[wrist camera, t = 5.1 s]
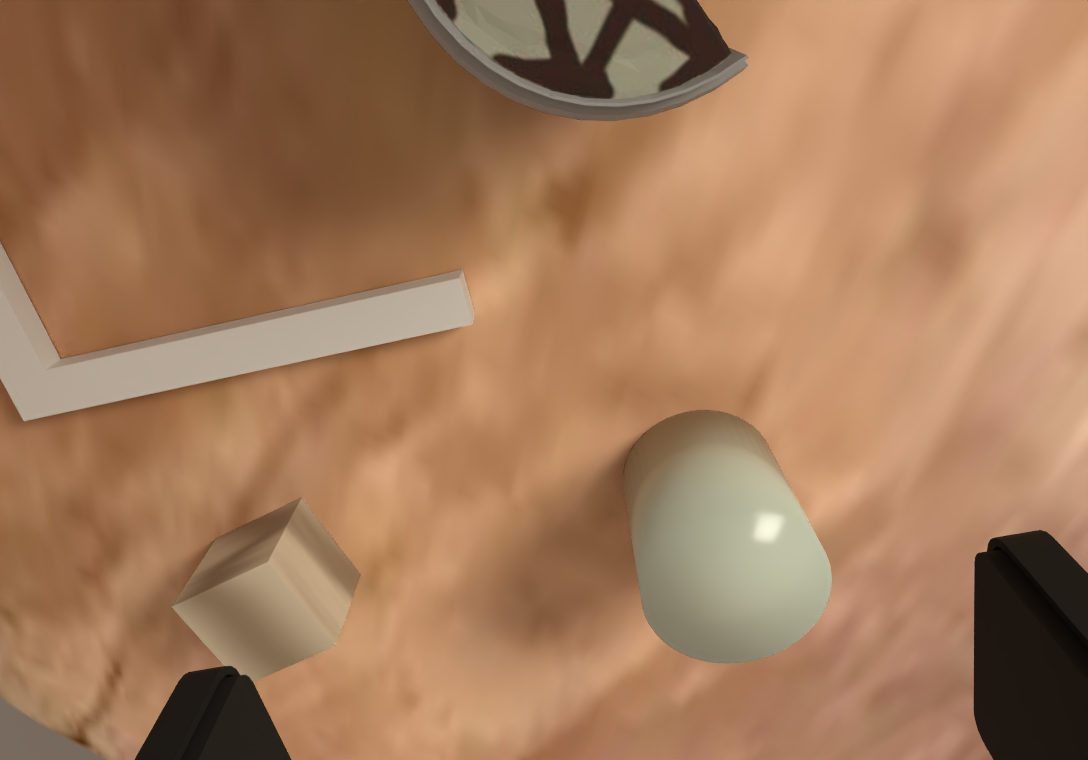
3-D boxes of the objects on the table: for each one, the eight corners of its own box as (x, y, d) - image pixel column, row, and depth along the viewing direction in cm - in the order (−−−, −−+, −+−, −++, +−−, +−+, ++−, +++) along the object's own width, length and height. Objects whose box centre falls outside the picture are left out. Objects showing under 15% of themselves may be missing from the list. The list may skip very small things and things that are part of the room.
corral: (270, -422, 24) (256, -443, 23) (475, 314, 33) (472, 324, 32) (-309, -239, 26) (-348, -251, 25) (40, 409, 35) (23, 421, 34)
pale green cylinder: (765, 395, 35) (823, 493, 28) (782, 526, 38) (839, 646, 30) (609, 427, 36) (625, 530, 28) (637, 553, 38) (658, 677, 31)
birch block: (302, 496, 37) (267, 561, 33) (360, 573, 39) (335, 645, 34) (216, 537, 38) (171, 607, 34) (277, 611, 40) (242, 686, 35)
